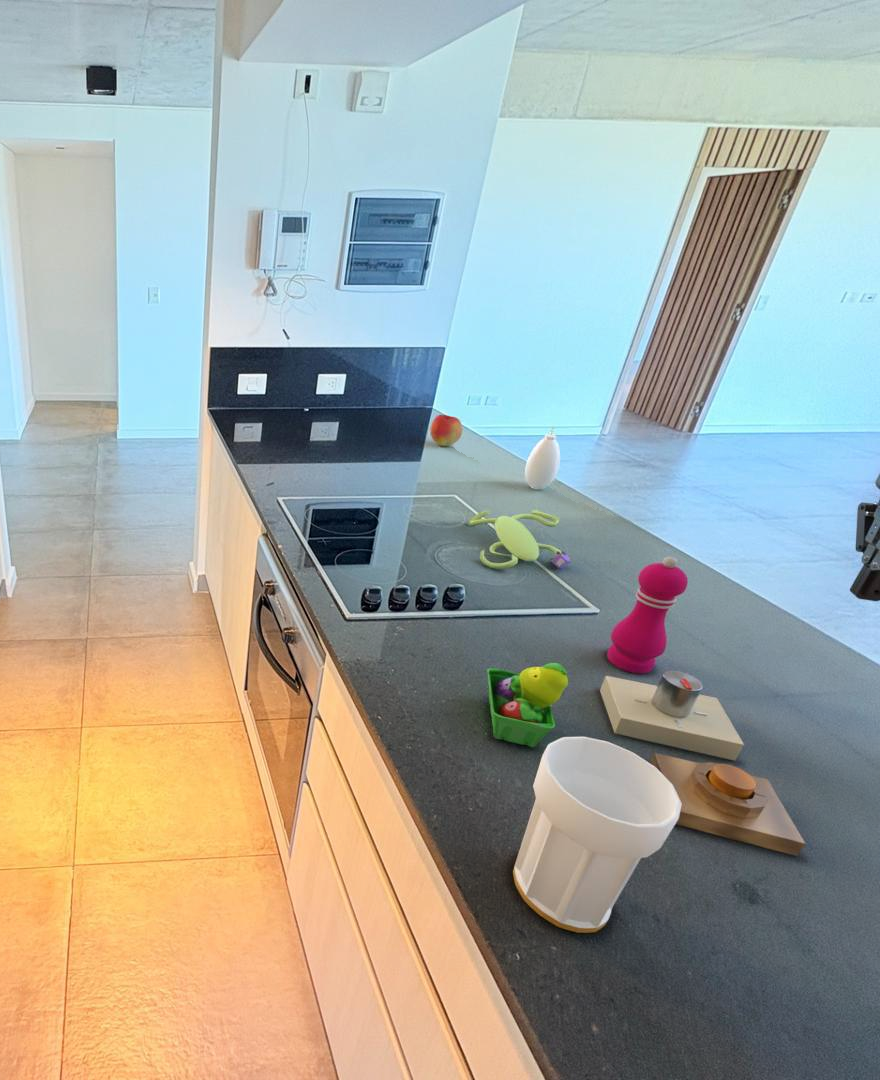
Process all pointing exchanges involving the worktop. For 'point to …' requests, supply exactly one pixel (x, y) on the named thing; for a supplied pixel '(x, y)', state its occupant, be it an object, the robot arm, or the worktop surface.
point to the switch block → (729, 807)
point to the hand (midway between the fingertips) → (864, 596)
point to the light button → (732, 781)
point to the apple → (446, 430)
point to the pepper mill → (647, 618)
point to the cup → (590, 830)
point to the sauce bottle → (543, 462)
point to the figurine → (519, 539)
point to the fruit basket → (525, 702)
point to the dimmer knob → (676, 693)
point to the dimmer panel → (669, 720)
